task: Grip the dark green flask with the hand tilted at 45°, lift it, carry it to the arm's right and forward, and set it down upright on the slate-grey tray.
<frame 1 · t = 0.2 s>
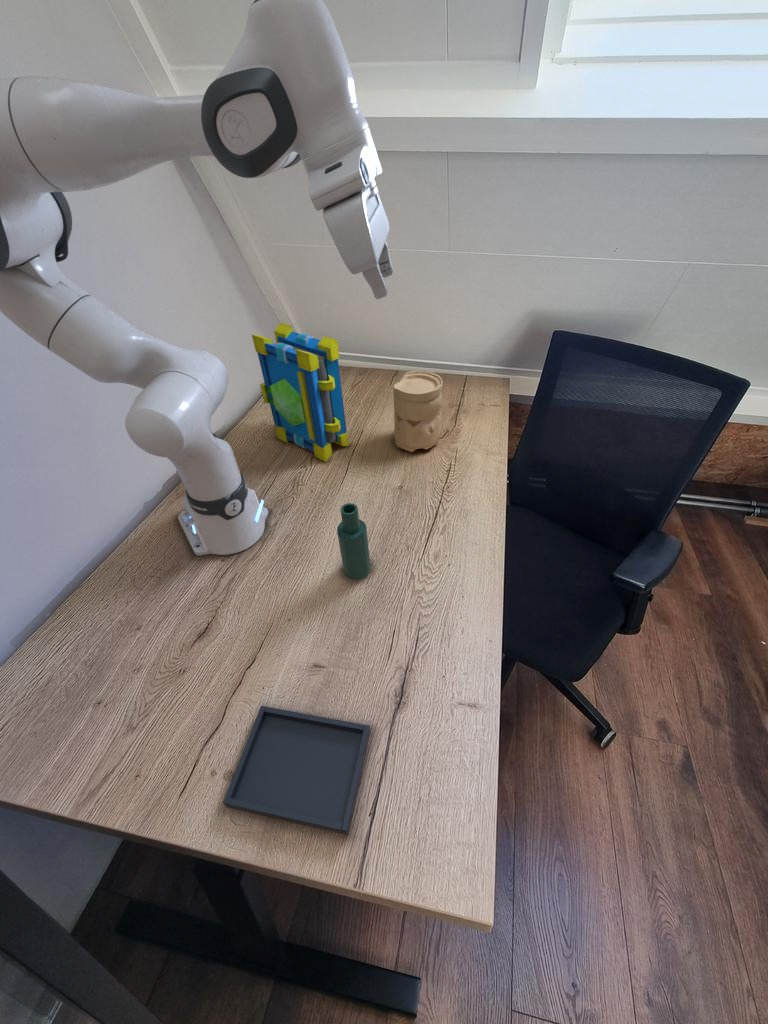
hand: (385, 285, 65), 52 cm above the table, tool tilted 20°, fingers open, 8 cm apart
decorative book: (313, 443, 129), on the table
container: (417, 441, 127), on the table
tray: (302, 767, 66), on the table
flask: (357, 569, 94), on the table
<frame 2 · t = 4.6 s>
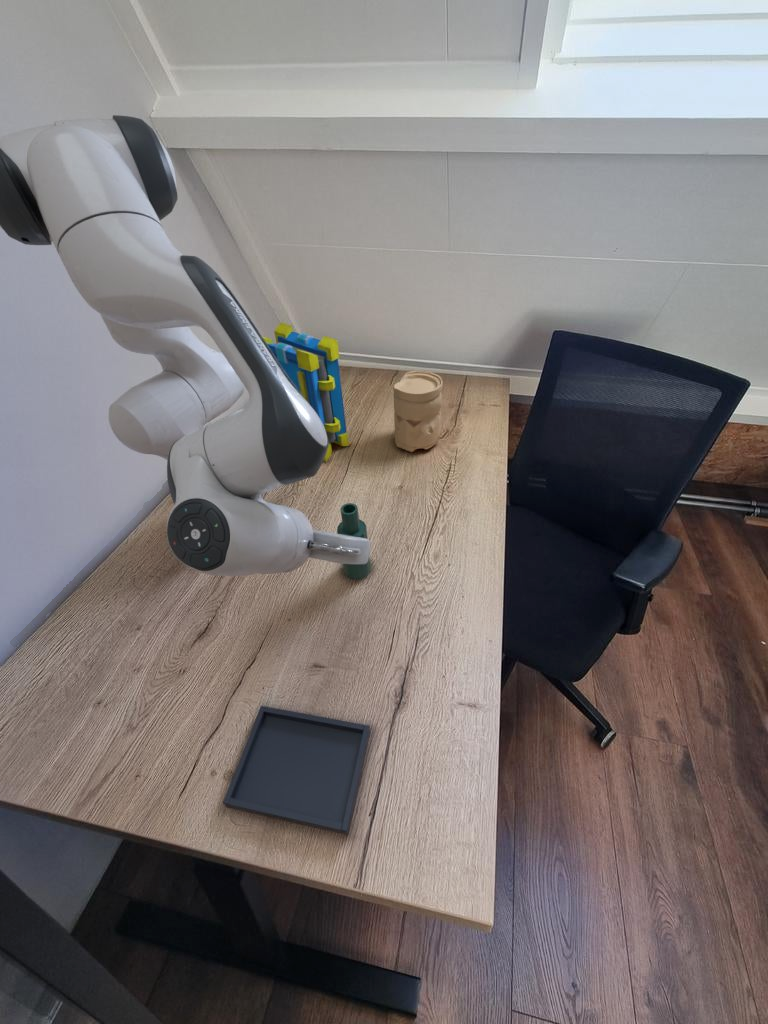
hand: (321, 541, 72), 20 cm above the table, tool tilted 45°, fingers open, 8 cm apart
nothing on the table moved.
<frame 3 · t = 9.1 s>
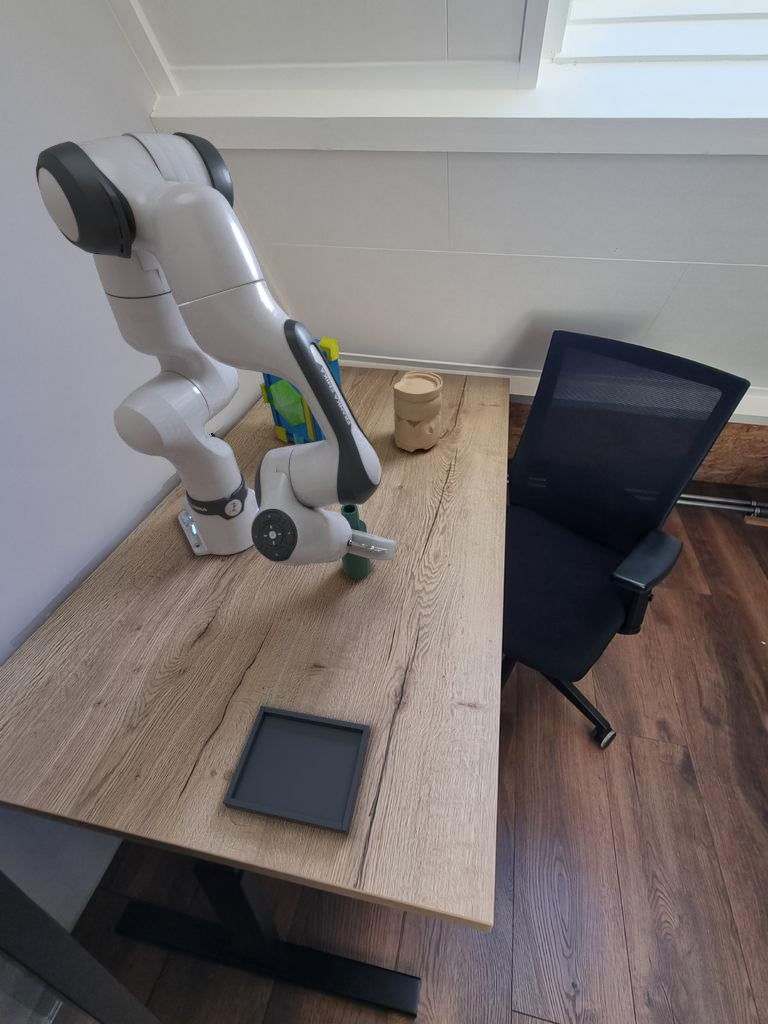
hand: (354, 537, 88), 9 cm above the table, tool tilted 45°, fingers closed on flask, 5 cm apart
flask: (357, 569, 94), on the table, touching gripper
everything else where it was.
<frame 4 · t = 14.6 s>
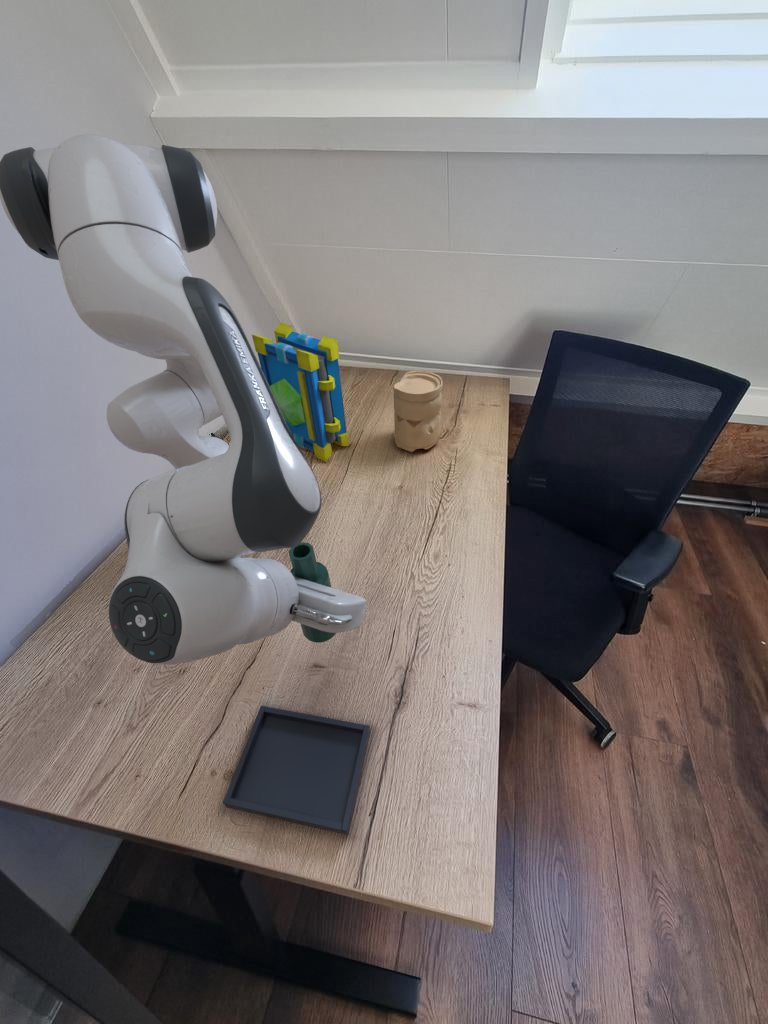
hand: (313, 587, 63), 22 cm above the table, tool tilted 45°, fingers closed on flask, 5 cm apart
flask: (320, 626, 69), point 13 cm above the table, touching gripper
everything else where it was.
when the fingers open (9 cm above the table, at t = 20.3 s): flask stays where it is, resting on tray.
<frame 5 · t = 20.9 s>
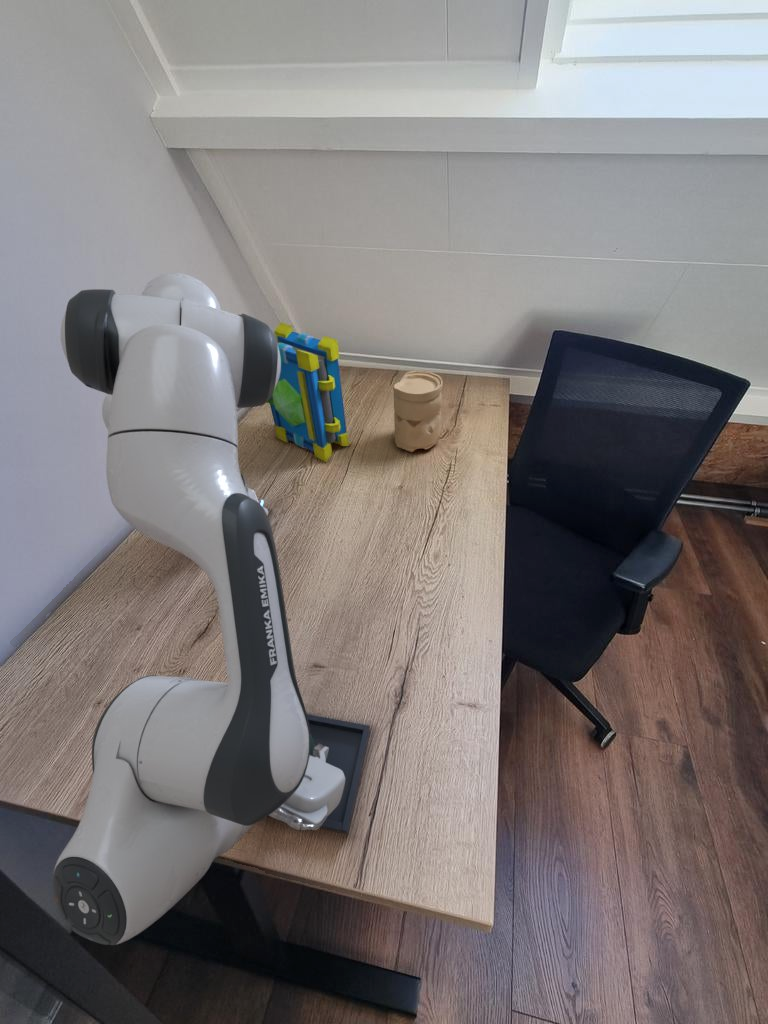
hand: (292, 736, 60), 10 cm above the table, tool tilted 45°, fingers open, 8 cm apart
flask: (301, 766, 66), point 1 cm above the table, touching tray
everything else where it was.
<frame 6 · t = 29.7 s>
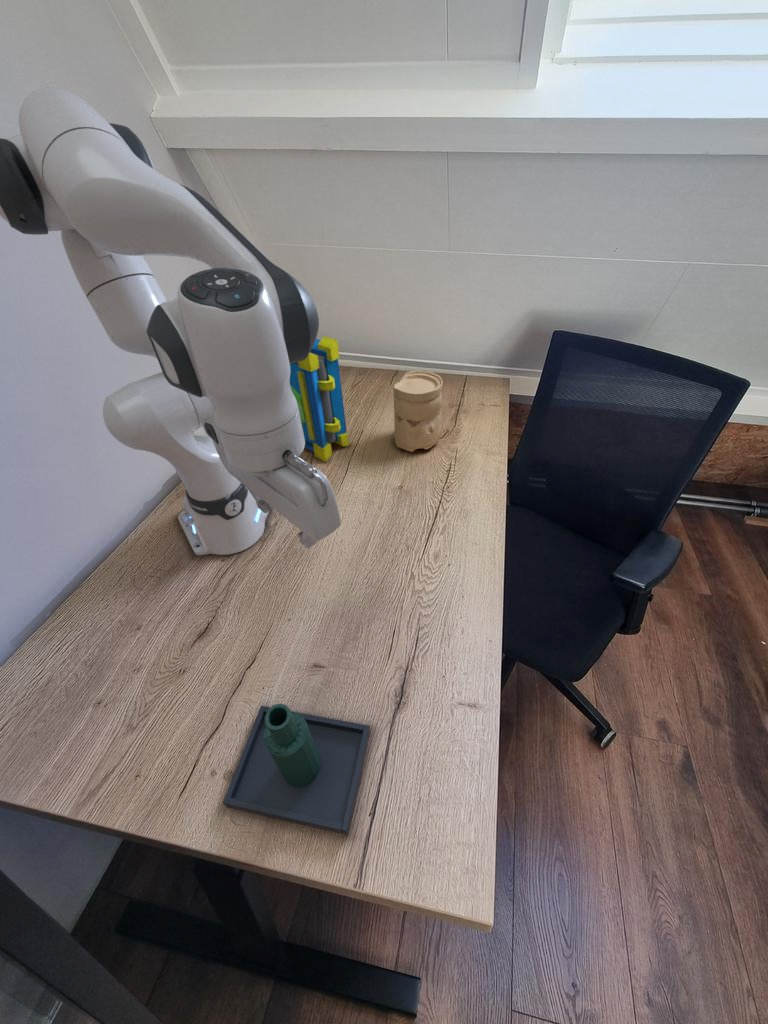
hand: (287, 525, 59), 31 cm above the table, tool pointing down, fingers open, 8 cm apart
nothing on the table moved.
at the end: flask inside the target area in the tray (0.0 cm from its centre), point 0.6 cm above the tray's base; flask tilted 0°; the gripper is holding nothing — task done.
